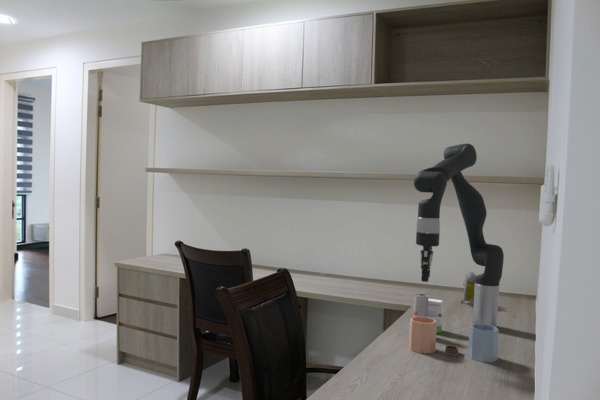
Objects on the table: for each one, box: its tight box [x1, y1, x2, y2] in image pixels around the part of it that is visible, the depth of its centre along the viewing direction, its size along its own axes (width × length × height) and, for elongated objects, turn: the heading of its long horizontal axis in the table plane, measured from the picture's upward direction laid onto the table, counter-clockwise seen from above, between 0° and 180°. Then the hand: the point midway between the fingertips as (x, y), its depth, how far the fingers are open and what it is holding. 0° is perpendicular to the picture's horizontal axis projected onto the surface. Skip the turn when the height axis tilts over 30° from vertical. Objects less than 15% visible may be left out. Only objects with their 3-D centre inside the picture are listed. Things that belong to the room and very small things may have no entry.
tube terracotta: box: [408, 316, 437, 354], centre depth 166 cm, size 8×8×10 cm
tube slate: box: [467, 323, 500, 364], centre depth 160 cm, size 8×8×10 cm
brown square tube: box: [444, 344, 459, 357], centre depth 163 cm, size 4×4×2 cm
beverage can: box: [412, 293, 429, 317], centre depth 182 cm, size 5×5×15 cm
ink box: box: [427, 298, 444, 334], centre depth 189 cm, size 9×5×12 cm, turn 67°
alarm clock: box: [460, 271, 477, 307], centre depth 236 cm, size 12×7×15 cm, turn 162°
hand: (425, 279), depth 165 cm, fingers open, 8 cm apart
